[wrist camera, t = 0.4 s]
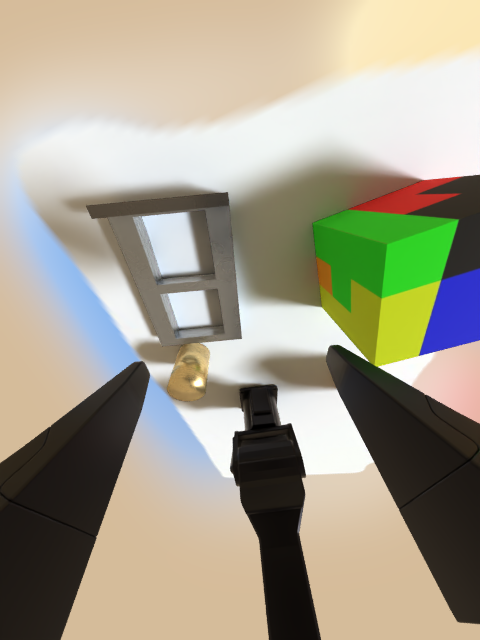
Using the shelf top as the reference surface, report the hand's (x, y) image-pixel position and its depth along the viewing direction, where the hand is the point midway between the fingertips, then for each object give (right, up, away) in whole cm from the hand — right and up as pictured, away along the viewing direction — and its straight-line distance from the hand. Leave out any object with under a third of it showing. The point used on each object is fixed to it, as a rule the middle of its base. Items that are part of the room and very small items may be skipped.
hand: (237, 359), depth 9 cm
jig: (-5, +6, +11) cm, 14 cm away
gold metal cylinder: (-6, -3, +17) cm, 19 cm away
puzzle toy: (+14, +9, +11) cm, 20 cm away
